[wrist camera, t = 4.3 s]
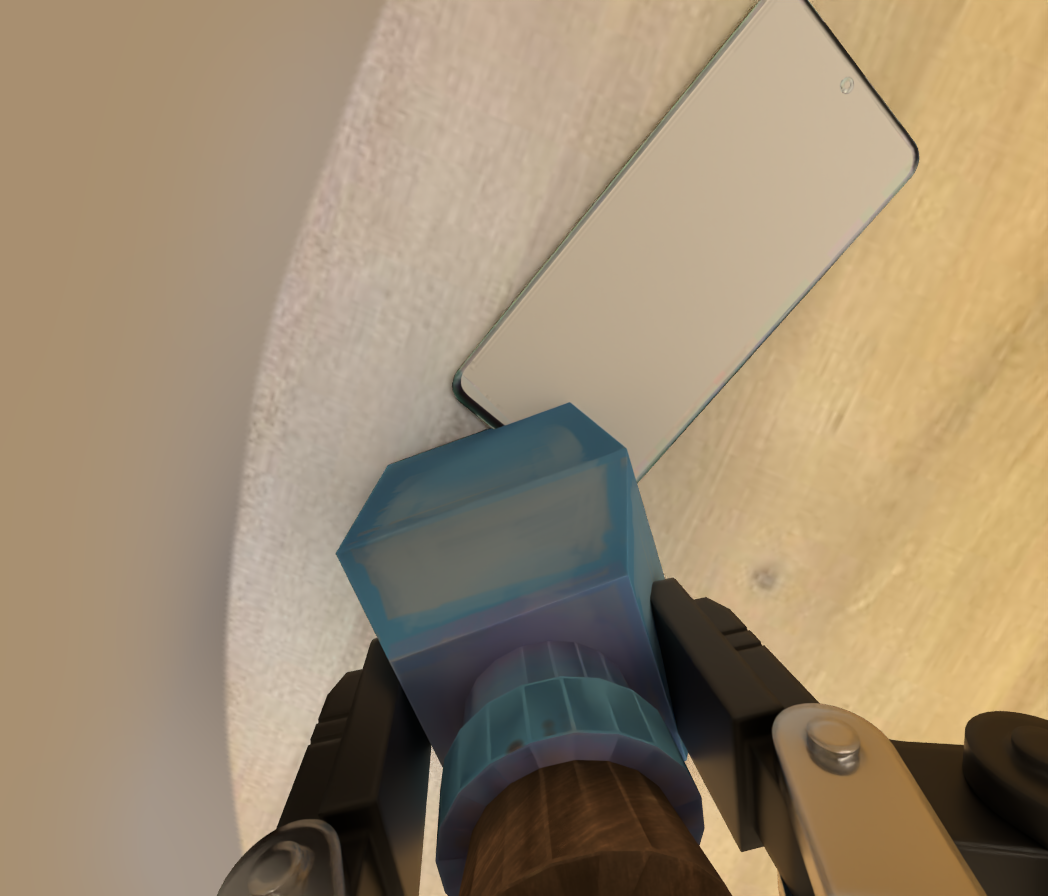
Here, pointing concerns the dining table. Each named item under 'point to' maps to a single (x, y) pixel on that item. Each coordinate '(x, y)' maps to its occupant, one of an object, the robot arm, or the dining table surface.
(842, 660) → the dining table surface
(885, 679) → the dining table surface
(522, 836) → the perfume bottle
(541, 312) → the smartphone
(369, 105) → the dining table surface
